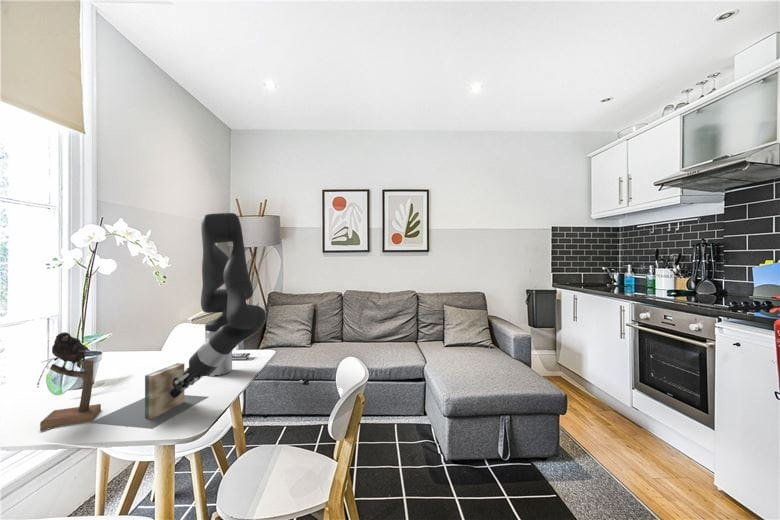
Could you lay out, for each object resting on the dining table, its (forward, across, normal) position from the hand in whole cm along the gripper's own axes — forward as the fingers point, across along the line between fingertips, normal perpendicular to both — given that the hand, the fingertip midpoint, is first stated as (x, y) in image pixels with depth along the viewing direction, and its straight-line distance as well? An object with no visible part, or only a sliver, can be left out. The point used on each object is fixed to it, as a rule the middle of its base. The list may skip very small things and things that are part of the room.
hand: (173, 395), depth 104 cm
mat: (+8, 0, -1) cm, 8 cm away
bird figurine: (+22, +7, -14) cm, 27 cm away
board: (+5, 0, +1) cm, 5 cm away
